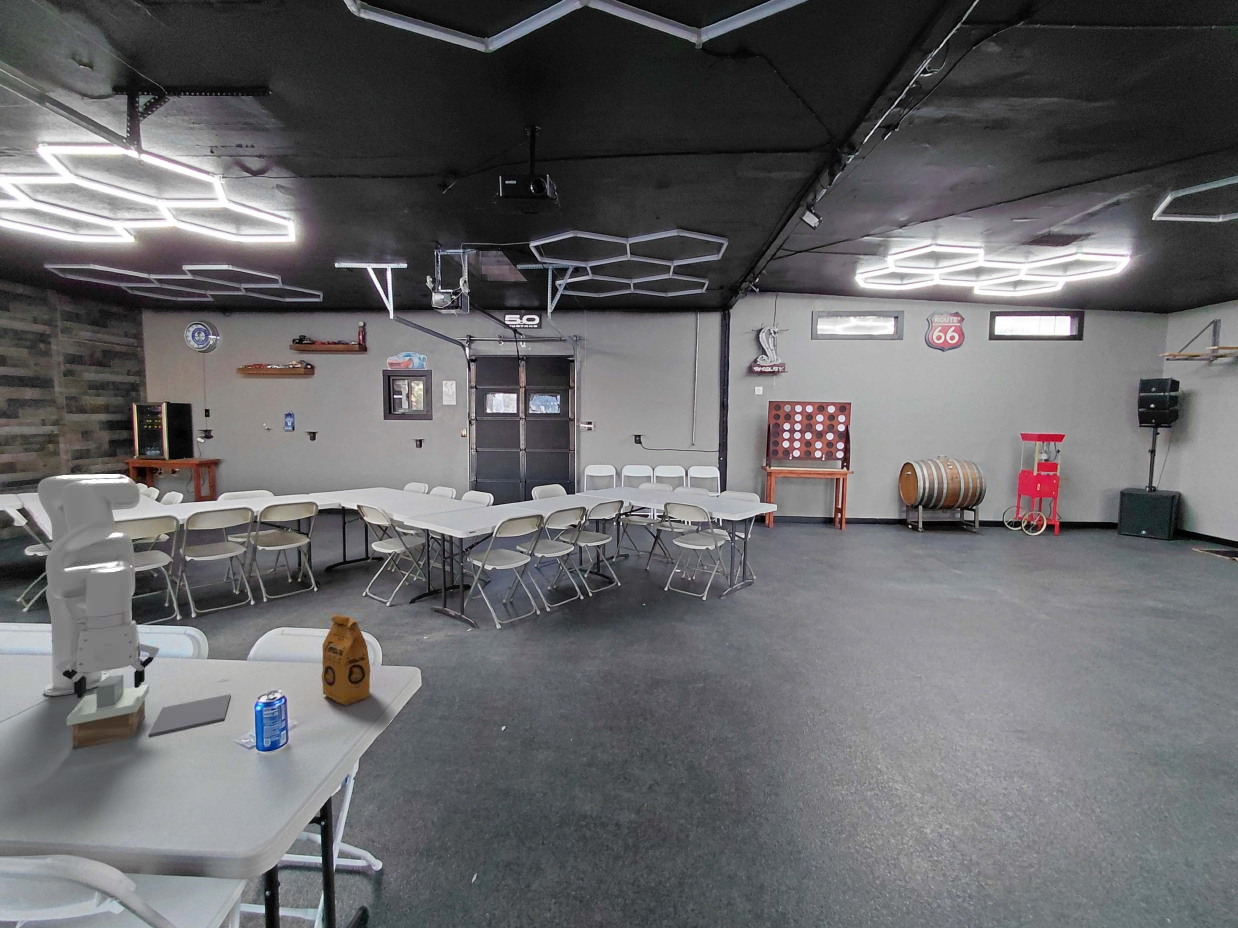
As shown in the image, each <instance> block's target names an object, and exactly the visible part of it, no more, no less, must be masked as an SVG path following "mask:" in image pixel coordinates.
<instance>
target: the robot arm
mask: <svg viewBox="0 0 1238 928" xmlns="http://www.w3.org/2000/svg"><path fill="white" fill-rule="evenodd" d="M37 494H38V495H37V496H38V499H39V502H40V504H41V506H42V508H43V509H44V511H45V513H46V515H47V516H48V518H49V521H50V524H51V541H52V542H51V543H52V544H51V545H52V546H51V549H50V550H49V552H48V554H47V556H46V560H45V572H46V580H47V587H46V590H45V597H46V598H45V599H46V601H47V605H48V610H49V615H50V624H51V666H52V667H51V668H52V669H51V673H52V674H51V675H52V676H51V677H52V679H51V680H52V682H51V683H49V684H48V685H46V686H45V687H44V688H43V694H45V695H46V696H53V697H55V696H56V697H57V696H58V697H59V696H66V695H73V694H74V695H76V698H77V699H81V698H84V697H85V695H86V694H87V691H88V690H91V689H94V688H96V687H97V688H98V687H99V685H100V684H101V683H102V682H103V681H104V679H105V678H106V677H110V675H111V674H110V673H109V672H106V671H110V670H117V669H122V668H123V669H124V668H127V667H130V666H131V667H132V668H133V669H134V670H135V671H134V672H133V675H134V676H133V679H134V680H133V683H134V686H133V687H134V688H139V686H142V683H144V682H145V679H146V677H145V676H146V675H145V674H146V671H145V668H146V667H148V666H149V665H150V664H151V663H152V662H153V661H154V659H155V658H156V656H157V655H158V653H159V651H160V648H159V647H158V646H152V645H148V644H145V643H141V639H140V635H139V634H140V633H139V629H138V626H137V622H136V620H133V619H132V617H133V615H132V614H133V613H132V612H133V611H132V606H133V605H132V599H133V598H132V597H133V595H134V593H135V590H136V574H135V573H136V572H135V571H136V570H135V568H136V567H135V552H134V550H135V549H134V543H133V541H132V538H131V537H130V536H129V534H127V533H123V532H116V530H117V529H116V528H117V526H116V521H115V518H114V513H113V511H115V510H116V511H119V510H130V509H135V508H136V507H137V506H138V505H139V503H140V500H141V493H140V489H139V487H138V485H137V483H136V482H135V481H134V480H133V479H132V478H130V477H128V476H127V475H125V474H119V473H118V474H68V475H67V474H66V475H54V476H49V477H46V478H43V479H41V480H40V481H39V483H38V485H37ZM141 652H143V653H148V657H147V658H146V659H144V660H143V659H141V658H140V657H141Z"/></svg>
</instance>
